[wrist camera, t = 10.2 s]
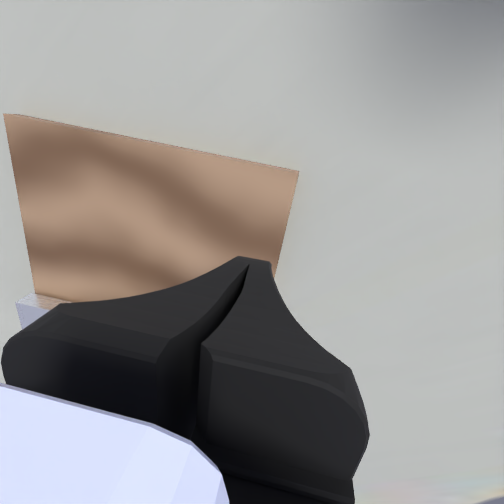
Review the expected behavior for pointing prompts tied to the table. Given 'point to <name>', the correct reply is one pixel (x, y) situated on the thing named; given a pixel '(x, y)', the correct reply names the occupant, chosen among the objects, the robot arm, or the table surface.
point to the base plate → (137, 210)
